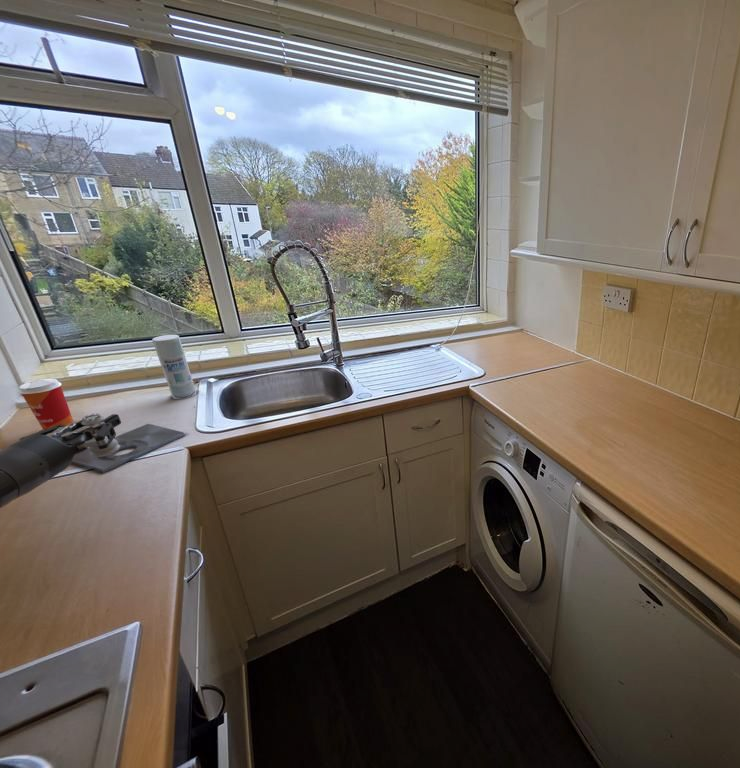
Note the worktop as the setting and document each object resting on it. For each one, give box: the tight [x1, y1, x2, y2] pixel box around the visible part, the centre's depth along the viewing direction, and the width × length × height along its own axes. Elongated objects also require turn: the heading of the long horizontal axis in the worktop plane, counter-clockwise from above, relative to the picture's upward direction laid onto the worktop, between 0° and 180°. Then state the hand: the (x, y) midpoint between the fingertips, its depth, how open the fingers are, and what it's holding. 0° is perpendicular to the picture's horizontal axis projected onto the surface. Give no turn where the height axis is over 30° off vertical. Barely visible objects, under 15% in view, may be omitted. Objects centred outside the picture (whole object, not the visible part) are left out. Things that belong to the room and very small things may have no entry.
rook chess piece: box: [81, 413, 120, 457], centre depth 80 cm, size 4×4×8 cm
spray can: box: [151, 334, 197, 400], centre depth 128 cm, size 6×6×20 cm
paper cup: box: [18, 378, 75, 433], centre depth 108 cm, size 8×8×14 cm
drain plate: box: [71, 423, 185, 474], centre depth 103 cm, size 18×14×2 cm
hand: (106, 418), depth 82 cm, fingers closed on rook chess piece, 3 cm apart
